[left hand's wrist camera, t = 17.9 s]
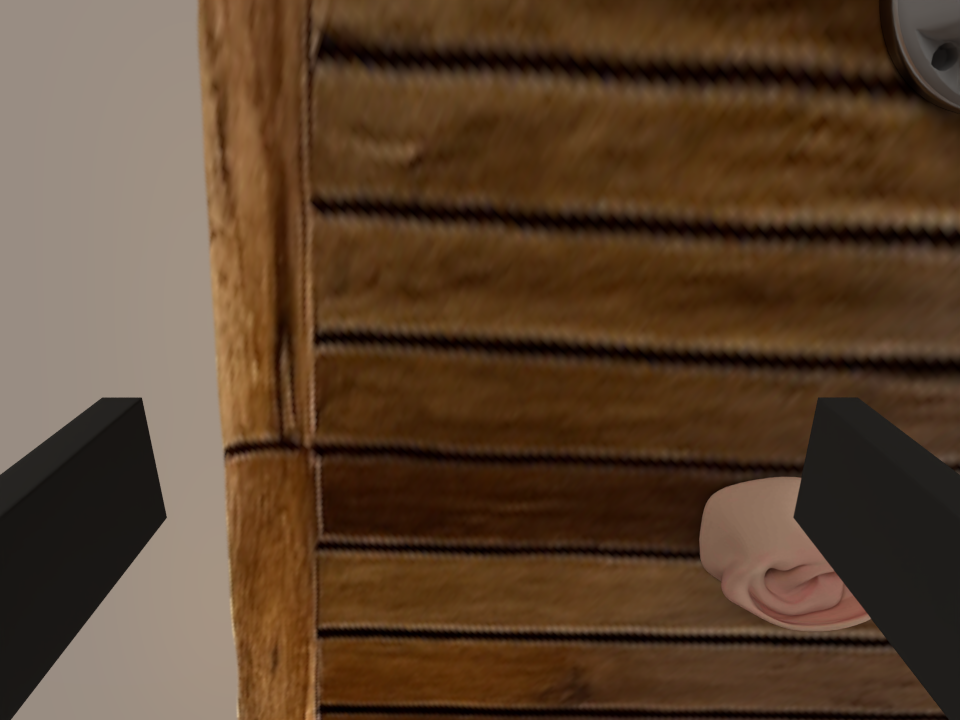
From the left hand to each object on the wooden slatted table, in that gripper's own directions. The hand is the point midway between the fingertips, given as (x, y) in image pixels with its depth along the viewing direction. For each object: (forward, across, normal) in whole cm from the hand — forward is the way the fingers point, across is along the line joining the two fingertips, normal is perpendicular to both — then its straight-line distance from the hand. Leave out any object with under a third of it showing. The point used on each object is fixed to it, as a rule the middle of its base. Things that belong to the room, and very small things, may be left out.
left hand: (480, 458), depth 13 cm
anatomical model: (+29, +23, -24) cm, 44 cm away
